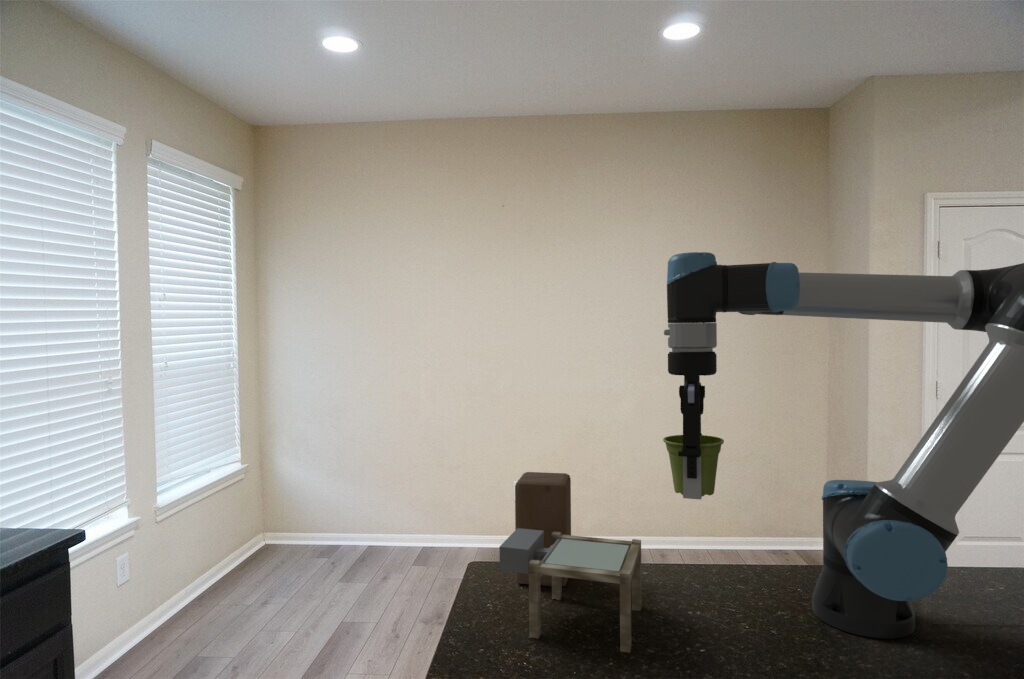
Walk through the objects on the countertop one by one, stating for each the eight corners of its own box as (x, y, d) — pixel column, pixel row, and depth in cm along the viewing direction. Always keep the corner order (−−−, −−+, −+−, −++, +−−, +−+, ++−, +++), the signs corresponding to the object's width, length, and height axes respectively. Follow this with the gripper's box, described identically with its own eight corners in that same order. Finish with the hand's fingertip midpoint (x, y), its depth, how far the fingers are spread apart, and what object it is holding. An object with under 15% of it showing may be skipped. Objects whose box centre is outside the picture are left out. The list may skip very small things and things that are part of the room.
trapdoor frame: (641, 607, 108) (641, 539, 108) (630, 652, 93) (629, 574, 92) (553, 595, 113) (553, 531, 113) (529, 637, 98) (528, 562, 97)
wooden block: (566, 589, 116) (565, 484, 115) (514, 585, 118) (513, 482, 117) (571, 569, 125) (571, 472, 125) (524, 565, 127) (523, 470, 127)
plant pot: (660, 498, 95) (659, 442, 95) (666, 483, 104) (666, 433, 104) (723, 503, 92) (723, 445, 92) (724, 487, 101) (724, 435, 101)
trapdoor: (629, 559, 107) (628, 536, 106) (618, 587, 95) (618, 562, 95) (519, 547, 113) (519, 526, 113) (497, 573, 101) (497, 549, 101)
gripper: (671, 348, 109) (672, 474, 109) (662, 352, 89) (664, 507, 89) (715, 348, 107) (717, 477, 107) (717, 352, 87) (718, 511, 87)
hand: (693, 490), depth 98 cm, fingers closed on plant pot, 8 cm apart
